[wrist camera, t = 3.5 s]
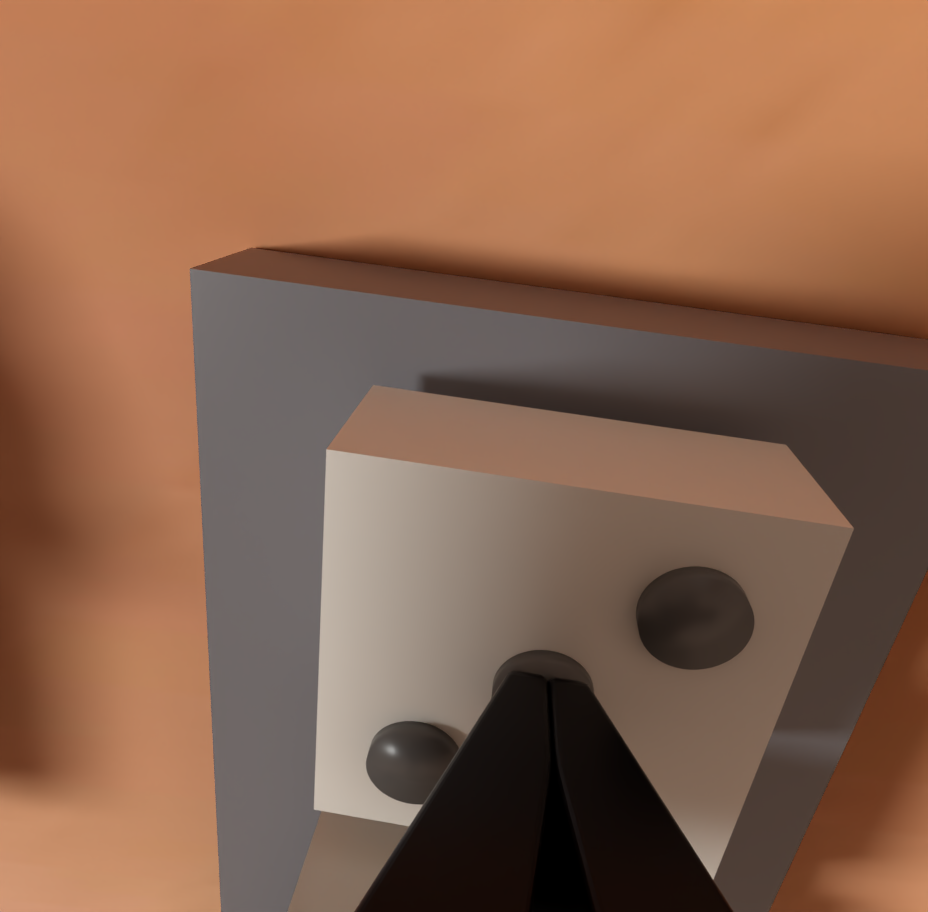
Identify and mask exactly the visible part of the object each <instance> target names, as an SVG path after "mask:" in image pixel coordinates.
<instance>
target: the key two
mask: <svg viewBox="0 0 928 912" xmlns="http://www.w3.org/2000/svg"><path fill="white" fill-rule="evenodd" d="M408 827H409V826H404V825H398V824H393V823H387V822H381V821H376V820H370V819H364V818H359V817H353V816H348V815H342V814H336V813H331V812H325V811H321V814H320V817H319V820H318V823H317V826H316V829H315V832H314V835H313V837H312V840H311V843H310V846H309V849H308V852H307V855H306V858H305V861H304V864H303V867H302V870H301V873H300V876H299V879H298V882H297V885H296V888H295V891H294V894H293V897H292V900H291V903H290V905H289V908H288V911H287V912H354V911H355V910H356V908H357V906H358V905H359V903H360V902H361V900H362V899H363V897H364V896H365V894H366V892H367V891H368V889H369V888H370V886H371V885H372V883H373V882H374V880H375V878H376V877H377V875H378V874H379V872H380V871H381V869H382V868H383V866H384V864H385V863H386V861H387V860H388V858H389V857H390V855H391V854H392V852H393V850H394V849H395V847H396V846H397V844H398V843H399V841H400V840H401V838H402V836H403V835H404V833H405V832H406V830H407V829H408Z"/></svg>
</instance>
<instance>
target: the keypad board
mask: <svg viewBox="0 0 928 912" xmlns="http://www.w3.org/2000/svg"><path fill="white" fill-rule="evenodd" d="M190 281H191V301H192V322H193V342H194V363H195V383H196V404H197V424H198V445H199V466H200V486H201V507H202V527H203V548H204V568H205V589H206V609H207V630H208V650H209V671H210V692H211V712H212V733H213V753H214V774H215V794H216V815H217V835H218V856H219V877H220V897H221V912H287V911H288V908H289V905H290V903H291V900H292V897H293V894H294V891H295V888H296V885H297V882H298V879H299V876H300V873H301V870H302V867H303V864H304V861H305V858H306V855H307V852H308V849H309V846H310V843H311V840H312V837H313V835H314V832H315V829H316V826H317V823H318V820H319V817H320V814H321V811H319V810H314V789H315V760H316V732H317V703H318V674H319V645H320V617H321V588H322V559H323V530H324V502H325V473H326V449H327V448H328V446H329V445H330V444H331V442H332V441H333V439H334V438H335V437H336V435H337V434H338V433H339V431H340V430H341V428H342V427H343V426H344V424H345V423H346V422H347V420H348V419H349V417H350V416H351V415H352V413H353V412H354V411H355V409H356V408H357V406H358V405H359V404H360V402H361V401H362V400H363V398H364V397H365V395H366V394H367V393H368V391H369V390H370V389H371V387H372V386H373V385H377V386H384V387H391V388H397V389H404V390H411V391H418V392H425V393H432V394H439V395H446V396H453V397H460V398H467V399H473V400H480V401H487V402H494V403H501V404H508V405H515V406H522V407H529V408H536V409H543V410H550V411H556V412H563V413H570V414H577V415H584V416H591V417H598V418H605V419H612V420H619V421H626V422H632V423H639V424H646V425H653V426H660V427H667V428H674V429H681V430H688V431H695V432H702V433H709V434H715V435H722V436H729V437H736V438H743V439H750V440H757V441H764V442H771V443H778V444H785V445H787V446H788V448H789V449H790V450H791V451H792V452H793V454H794V455H795V456H796V457H797V459H798V460H799V461H800V462H801V464H802V465H803V466H804V467H805V469H806V470H807V471H808V472H809V473H810V475H811V476H812V477H813V478H814V480H815V481H816V482H817V483H818V485H819V486H820V487H821V488H822V489H823V491H824V492H825V493H826V494H827V496H828V497H829V498H830V499H831V501H832V502H833V503H834V504H835V505H836V507H837V508H838V509H839V510H840V512H841V513H842V514H843V515H844V517H845V518H846V519H847V520H848V522H849V523H850V524H851V525H852V526H853V528H854V530H853V532H852V535H851V537H850V540H849V542H848V545H847V547H846V550H845V552H844V555H843V557H842V560H841V562H840V565H839V567H838V570H837V572H836V575H835V577H834V580H833V582H832V585H831V587H830V590H829V592H828V595H827V597H826V600H825V602H824V605H823V607H822V610H821V612H820V615H819V617H818V620H817V622H816V625H815V627H814V630H813V632H812V635H811V637H810V640H809V642H808V645H807V647H806V650H805V652H804V655H803V657H802V660H801V662H800V665H799V667H798V670H797V672H796V675H795V677H794V680H793V682H792V685H791V687H790V690H789V692H788V695H787V697H786V700H785V702H784V705H783V707H782V710H781V712H780V715H779V717H778V720H777V722H776V725H775V727H774V730H773V732H772V735H771V737H770V740H769V742H768V745H767V747H766V749H765V752H764V754H763V757H762V759H761V762H760V764H759V767H758V769H757V772H756V774H755V777H754V779H753V782H752V784H751V787H750V789H749V792H748V794H747V797H746V799H745V802H744V804H743V807H742V809H741V812H740V814H739V817H738V819H737V822H736V824H735V827H734V829H733V832H732V834H731V837H730V839H729V842H728V844H727V847H726V849H725V852H724V854H723V857H722V859H721V862H720V864H719V867H718V869H717V872H716V874H715V877H714V879H713V880H714V882H715V883H716V885H717V886H718V888H719V890H720V891H721V893H722V894H723V896H724V897H725V899H726V901H727V902H728V904H729V905H730V907H731V908H732V910H733V911H734V912H769V910H770V908H771V906H772V904H773V901H774V899H775V897H776V895H777V893H778V891H779V888H780V886H781V884H782V882H783V880H784V878H785V876H786V873H787V871H788V869H789V867H790V865H791V863H792V860H793V858H794V856H795V854H796V852H797V850H798V848H799V845H800V843H801V841H802V839H803V837H804V835H805V833H806V830H807V828H808V826H809V824H810V822H811V820H812V817H813V815H814V813H815V811H816V809H817V807H818V805H819V802H820V800H821V798H822V796H823V794H824V792H825V789H826V787H827V785H828V783H829V781H830V779H831V777H832V774H833V772H834V770H835V768H836V766H837V764H838V761H839V759H840V757H841V755H842V753H843V751H844V749H845V746H846V744H847V742H848V740H849V738H850V736H851V734H852V731H853V729H854V727H855V725H856V723H857V721H858V718H859V716H860V714H861V712H862V710H863V708H864V706H865V703H866V701H867V699H868V697H869V695H870V693H871V690H872V688H873V686H874V684H875V682H876V680H877V678H878V675H879V673H880V671H881V669H882V667H883V665H884V662H885V660H886V658H887V656H888V654H889V652H890V650H891V647H892V645H893V643H894V641H895V639H896V637H897V634H898V632H899V630H900V628H901V626H902V624H903V622H904V619H905V617H906V615H907V613H908V611H909V609H910V607H911V604H912V602H913V600H914V598H915V596H916V594H917V591H918V589H919V587H920V585H921V583H922V581H923V579H924V576H925V574H926V572H927V570H928V339H921V338H913V337H906V336H898V335H891V334H884V333H876V332H869V331H862V330H854V329H847V328H839V327H832V326H825V325H817V324H810V323H803V322H795V321H788V320H780V319H773V318H766V317H758V316H751V315H744V314H736V313H729V312H721V311H714V310H707V309H699V308H692V307H685V306H677V305H670V304H662V303H655V302H648V301H640V300H633V299H626V298H618V297H611V296H604V295H596V294H589V293H581V292H574V291H567V290H559V289H552V288H545V287H537V286H530V285H522V284H515V283H508V282H500V281H493V280H486V279H478V278H471V277H463V276H456V275H449V274H441V273H434V272H427V271H419V270H412V269H404V268H397V267H390V266H382V265H375V264H368V263H360V262H353V261H345V260H338V259H331V258H323V257H316V256H309V255H301V254H294V253H287V252H279V251H272V250H264V249H257V248H249V249H246V250H243V251H241V252H238V253H235V254H232V255H229V256H226V257H223V258H220V259H217V260H214V261H211V262H208V263H205V264H202V265H199V266H196V267H193V268H190Z"/></svg>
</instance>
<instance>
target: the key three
mask: <svg viewBox="0 0 928 912" xmlns="http://www.w3.org/2000/svg"><path fill="white" fill-rule="evenodd" d="M853 530H854V528H853V526H852V525H851V524H850V523H849V522H848V520H847V519H846V518H845V517H844V515H843V514H842V513H841V512H840V510H839V509H838V508H837V507H836V505H835V504H834V503H833V502H832V501H831V499H830V498H829V497H828V496H827V494H826V493H825V492H824V491H823V489H822V488H821V487H820V486H819V485H818V483H817V482H816V481H815V480H814V478H813V477H812V476H811V475H810V473H809V472H808V471H807V470H806V469H805V467H804V466H803V465H802V464H801V462H800V461H799V460H798V459H797V457H796V456H795V455H794V454H793V452H792V451H791V450H790V449H789V448H788V446H787V445H785V444H778V443H771V442H764V441H757V440H750V439H743V438H736V437H729V436H722V435H715V434H709V433H702V432H695V431H688V430H681V429H674V428H667V427H660V426H653V425H646V424H639V423H632V422H626V421H619V420H612V419H605V418H598V417H591V416H584V415H577V414H570V413H563V412H556V411H550V410H543V409H536V408H529V407H522V406H515V405H508V404H501V403H494V402H487V401H480V400H473V399H467V398H460V397H453V396H446V395H439V394H432V393H425V392H418V391H411V390H404V389H397V388H391V387H384V386H377V385H373V386H372V387H371V389H370V390H369V391H368V393H367V394H366V395H365V397H364V398H363V400H362V401H361V402H360V404H359V405H358V406H357V408H356V409H355V411H354V412H353V413H352V415H351V416H350V417H349V419H348V420H347V422H346V423H345V424H344V426H343V427H342V428H341V430H340V431H339V433H338V434H337V435H336V437H335V438H334V439H333V441H332V442H331V444H330V445H329V446H328V448H327V449H326V473H325V502H324V530H323V559H322V588H321V617H320V645H319V674H318V703H317V732H316V760H315V789H314V810H319V811H325V812H331V813H336V814H342V815H348V816H353V817H359V818H364V819H370V820H376V821H381V822H387V823H393V824H398V825H404V826H410V824H411V823H412V821H413V819H414V818H415V816H416V815H417V813H418V812H419V810H420V809H421V807H422V805H423V804H424V802H425V801H426V799H427V798H428V796H429V795H430V793H431V791H432V790H433V788H434V787H435V785H436V784H437V782H438V781H439V779H440V777H441V776H442V774H443V773H444V771H445V770H446V768H447V767H448V765H449V763H450V762H451V760H452V759H453V757H454V756H455V754H456V753H457V751H458V749H459V748H460V746H461V745H462V743H463V742H464V740H465V739H466V737H467V735H468V734H469V732H470V731H471V729H472V728H473V726H474V725H475V723H476V721H477V720H478V718H479V717H480V715H481V714H482V712H483V711H484V709H485V707H486V706H487V704H488V703H489V701H490V700H491V698H492V697H493V695H494V693H495V692H496V690H497V689H498V687H499V686H500V684H501V683H502V681H503V679H504V678H505V676H506V675H507V674H508V673H509V672H511V671H520V672H526V673H532V674H538V675H542V676H544V677H545V678H546V680H547V682H548V681H549V680H550V679H551V678H553V677H557V678H563V679H569V680H575V681H581V682H584V683H586V684H587V685H588V686H589V687H590V688H591V690H592V691H593V693H594V694H595V696H596V697H597V699H598V700H599V702H600V704H601V705H602V707H603V708H604V710H605V711H606V713H607V715H608V716H609V718H610V719H611V721H612V722H613V724H614V725H615V727H616V729H617V730H618V732H619V733H620V735H621V736H622V738H623V740H624V741H625V743H626V744H627V746H628V747H629V749H630V751H631V752H632V754H633V755H634V757H635V758H636V760H637V761H638V763H639V765H640V766H641V768H642V769H643V771H644V772H645V774H646V776H647V777H648V779H649V780H650V782H651V783H652V785H653V786H654V788H655V790H656V791H657V793H658V794H659V796H660V797H661V799H662V801H663V802H664V804H665V805H666V807H667V808H668V810H669V811H670V813H671V815H672V816H673V818H674V819H675V821H676V822H677V824H678V826H679V827H680V829H681V830H682V832H683V833H684V835H685V836H686V838H687V840H688V841H689V843H690V844H691V846H692V847H693V849H694V851H695V852H696V854H697V855H698V857H699V858H700V860H701V861H702V863H703V865H704V866H705V868H706V869H707V871H708V872H709V874H710V876H711V877H712V879H714V877H715V874H716V872H717V869H718V867H719V864H720V862H721V859H722V857H723V854H724V852H725V849H726V847H727V844H728V842H729V839H730V837H731V834H732V832H733V829H734V827H735V824H736V822H737V819H738V817H739V814H740V812H741V809H742V807H743V804H744V802H745V799H746V797H747V794H748V792H749V789H750V787H751V784H752V782H753V779H754V777H755V774H756V772H757V769H758V767H759V764H760V762H761V759H762V757H763V754H764V752H765V749H766V747H767V745H768V742H769V740H770V737H771V735H772V732H773V730H774V727H775V725H776V722H777V720H778V717H779V715H780V712H781V710H782V707H783V705H784V702H785V700H786V697H787V695H788V692H789V690H790V687H791V685H792V682H793V680H794V677H795V675H796V672H797V670H798V667H799V665H800V662H801V660H802V657H803V655H804V652H805V650H806V647H807V645H808V642H809V640H810V637H811V635H812V632H813V630H814V627H815V625H816V622H817V620H818V617H819V615H820V612H821V610H822V607H823V605H824V602H825V600H826V597H827V595H828V592H829V590H830V587H831V585H832V582H833V580H834V577H835V575H836V572H837V570H838V567H839V565H840V562H841V560H842V557H843V555H844V552H845V550H846V547H847V545H848V542H849V540H850V537H851V535H852V532H853Z"/></svg>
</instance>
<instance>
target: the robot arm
mask: <svg viewBox="0 0 928 912" xmlns="http://www.w3.org/2000/svg"><path fill="white" fill-rule="evenodd" d="M354 912H734V911H733V910H732V908H731V907H730V905H729V904H728V902H727V901H726V899H725V897H724V896H723V894H722V893H721V891H720V890H719V888H718V886H717V885H716V883H715V882H714V880H713V879H712V877H711V876H710V874H709V872H708V871H707V869H706V868H705V866H704V865H703V863H702V861H701V860H700V858H699V857H698V855H697V854H696V852H695V851H694V849H693V847H692V846H691V844H690V843H689V841H688V840H687V838H686V836H685V835H684V833H683V832H682V830H681V829H680V827H679V826H678V824H677V822H676V821H675V819H674V818H673V816H672V815H671V813H670V811H669V810H668V808H667V807H666V805H665V804H664V802H663V801H662V799H661V797H660V796H659V794H658V793H657V791H656V790H655V788H654V786H653V785H652V783H651V782H650V780H649V779H648V777H647V776H646V774H645V772H644V771H643V769H642V768H641V766H640V765H639V763H638V761H637V760H636V758H635V757H634V755H633V754H632V752H631V751H630V749H629V747H628V746H627V744H626V743H625V741H624V740H623V738H622V736H621V735H620V733H619V732H618V730H617V729H616V727H615V725H614V724H613V722H612V721H611V719H610V718H609V716H608V715H607V713H606V711H605V710H604V708H603V707H602V705H601V704H600V702H599V700H598V699H597V697H596V696H595V694H594V693H593V691H592V690H591V688H590V687H589V686H588V685H587V684H586V683H584V682H581V681H575V680H569V679H563V678H557V677H553V678H551V679H550V680H549V681H548V682H547V680H546V678H545V677H544V676H542V675H538V674H532V673H526V672H520V671H511V672H509V673H508V674H507V675H506V676H505V678H504V679H503V681H502V683H501V684H500V686H499V687H498V689H497V690H496V692H495V693H494V695H493V697H492V698H491V700H490V701H489V703H488V704H487V706H486V707H485V709H484V711H483V712H482V714H481V715H480V717H479V718H478V720H477V721H476V723H475V725H474V726H473V728H472V729H471V731H470V732H469V734H468V735H467V737H466V739H465V740H464V742H463V743H462V745H461V746H460V748H459V749H458V751H457V753H456V754H455V756H454V757H453V759H452V760H451V762H450V763H449V765H448V767H447V768H446V770H445V771H444V773H443V774H442V776H441V777H440V779H439V781H438V782H437V784H436V785H435V787H434V788H433V790H432V791H431V793H430V795H429V796H428V798H427V799H426V801H425V802H424V804H423V805H422V807H421V809H420V810H419V812H418V813H417V815H416V816H415V818H414V819H413V821H412V823H411V824H410V826H409V827H408V829H407V830H406V832H405V833H404V835H403V836H402V838H401V840H400V841H399V843H398V844H397V846H396V847H395V849H394V850H393V852H392V854H391V855H390V857H389V858H388V860H387V861H386V863H385V864H384V866H383V868H382V869H381V871H380V872H379V874H378V875H377V877H376V878H375V880H374V882H373V883H372V885H371V886H370V888H369V889H368V891H367V892H366V894H365V896H364V897H363V899H362V900H361V902H360V903H359V905H358V906H357V908H356V910H355V911H354Z"/></svg>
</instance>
